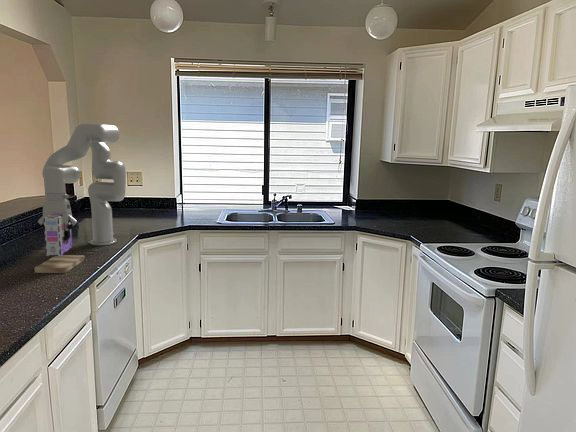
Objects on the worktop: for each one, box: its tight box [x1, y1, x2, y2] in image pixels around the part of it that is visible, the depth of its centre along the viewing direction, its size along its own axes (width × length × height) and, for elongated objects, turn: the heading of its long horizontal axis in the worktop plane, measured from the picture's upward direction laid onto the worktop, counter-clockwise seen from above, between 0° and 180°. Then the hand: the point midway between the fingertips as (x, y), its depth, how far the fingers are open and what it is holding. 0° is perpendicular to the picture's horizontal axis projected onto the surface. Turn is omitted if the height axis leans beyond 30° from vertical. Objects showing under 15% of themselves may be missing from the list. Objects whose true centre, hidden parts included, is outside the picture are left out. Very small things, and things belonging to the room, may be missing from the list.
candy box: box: [43, 215, 73, 257], centre depth 172 cm, size 14×6×16 cm, turn 9°
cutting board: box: [34, 254, 85, 274], centre depth 174 cm, size 18×12×2 cm, turn 3°
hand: (58, 238), depth 172 cm, fingers closed on candy box, 6 cm apart
